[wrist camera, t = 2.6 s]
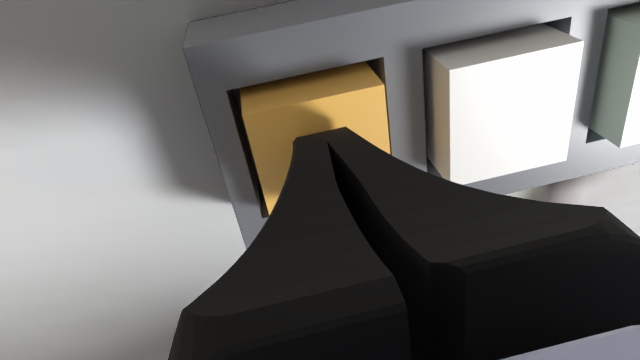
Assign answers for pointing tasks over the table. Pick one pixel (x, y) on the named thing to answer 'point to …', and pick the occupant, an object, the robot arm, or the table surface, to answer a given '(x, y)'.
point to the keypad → (380, 75)
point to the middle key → (500, 102)
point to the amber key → (310, 116)
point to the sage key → (619, 79)
